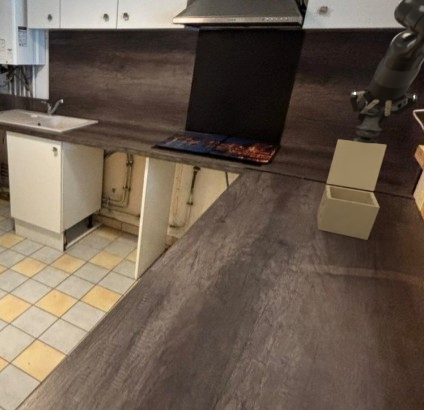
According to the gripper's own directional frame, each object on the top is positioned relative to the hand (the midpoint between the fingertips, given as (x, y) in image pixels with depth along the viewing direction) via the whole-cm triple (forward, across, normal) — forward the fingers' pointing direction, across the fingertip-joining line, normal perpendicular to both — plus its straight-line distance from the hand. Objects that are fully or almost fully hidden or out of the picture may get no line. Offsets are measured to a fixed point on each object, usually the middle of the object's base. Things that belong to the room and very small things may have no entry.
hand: (370, 119), depth 97 cm
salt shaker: (+3, 0, +5) cm, 6 cm away
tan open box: (+19, -1, +24) cm, 31 cm away
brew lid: (+13, -1, +6) cm, 15 cm away
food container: (+45, -4, -2) cm, 45 cm away
